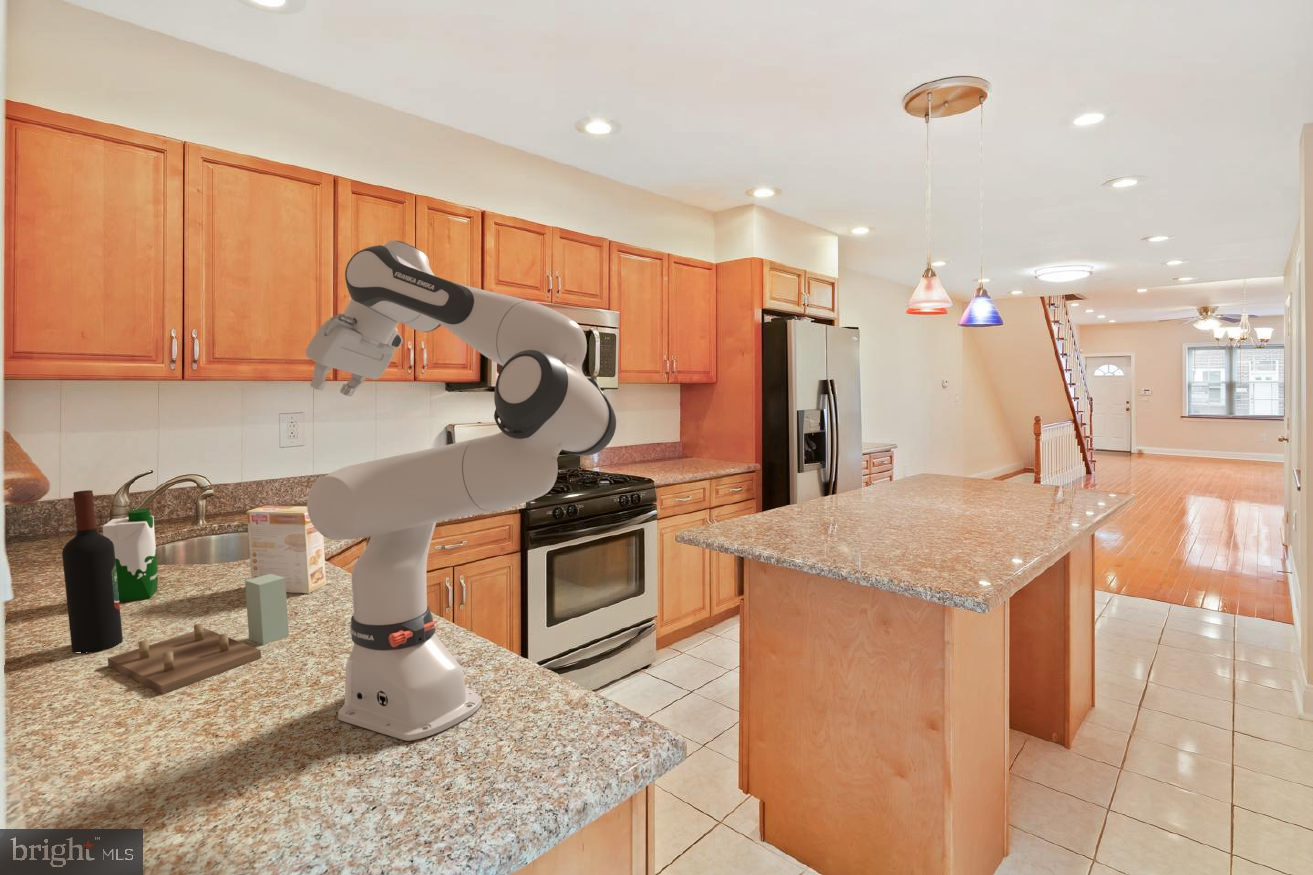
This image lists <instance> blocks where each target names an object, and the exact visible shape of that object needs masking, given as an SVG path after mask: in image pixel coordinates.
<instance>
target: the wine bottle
mask: <svg viewBox="0 0 1313 875" xmlns="http://www.w3.org/2000/svg"><path fill="white" fill-rule="evenodd" d="M72 495H73V496H72V497H73V502H74V513H75V521H76V522H75V523H76V524H75V525H76V534H75V536H73V537H72V538H71V539H70V540H69V541H68V542H66V544H65V545H64V547H63V548H62V551H61V552H62V553H61V555H62V566H63V574H64V575H63V576H64V586H65V596H66V597H65V598H66V605H67V614H68V615H67V616H68V623H69V634H70V646H71V652H73V653H74V652H81V653H85V654H87V653H86V652H93V653H98V652H102V651H106V650H110V649H112V648H115V647H117V646H119V645H120V644H121V643H123V639H124V638H123V629H122V618H121V617H122V616H121V607H120V606H121V604H120V602H119V594H118V583H117V572H116V561H115V551H114V544H113V542H112V541H111V540H110V539H109V538H107V537H105V536H104V535H102V534H101V533H99V532H98V529H97V526H96V515H95V514H96V513H95V505H94V492H93V490H92V489H91V490H90V489H89V490H79V491H74V492H73V493H72ZM119 643H120V644H119ZM118 644H119V645H118ZM116 645H117V646H116ZM114 646H115V647H114Z"/></svg>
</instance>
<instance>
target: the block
mask: <svg viewBox="0 0 1313 875" xmlns="http://www.w3.org/2000/svg"><path fill="white" fill-rule="evenodd" d="M244 586H245V587H244V588H245V597H246V598H245V600H246V601H245V602H246V612H247V613H246V614H247V629H248V640H249V641H251V642H254V643H256V642H257V643H256V644H259V643H260V644H259V645H261V644H262V646H266V645H268V644H267V643H269V642H271V643H273V642H272V641H274V642H276V641H279V639H280V640H282V638H283V639H285V637H286V638H288V637H289V636H290V634H289V620H288V619H289V618H288V616H289V615H288V602H287V600H288V599H287V592H286V583H285V578H284V577H281V576H277V575H274V574H268V575H264V576H260V577H256V578H253V579H251V578H250V579H249V578H248V579H246V580H244ZM287 636H288V637H287ZM265 644H266V645H265ZM269 644H270V643H269Z"/></svg>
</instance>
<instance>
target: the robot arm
mask: <svg viewBox="0 0 1313 875" xmlns="http://www.w3.org/2000/svg"><path fill="white" fill-rule="evenodd" d="M344 272H345V273H344V275H345V276H344V278H345V284H346V289H347V291H348V293H349V296H350V300H349V302H348V304H347V306H346V307H345V309H344V311H343V313H337V315H334V316H331V317H330V318H329V320H326V321H325V322H323V323H322V325H321V326H320V328H319V329H317V332H316V333H315V334H314V335H313V337H312V339H311V340H310V341H309V344H308V345H307V347H306V349H305V356H306V358H308V359H310V360H312V361H313V362H315V365H314V367H313V368H314V369H313V378H312V379H311V381H310V384H309V385H310V387H311V388H313V389H315V390H318V391H324V389H325V387H326V385H327V384H328V382H327V381H326V377H327V374H329V373H330V372H331V370H332V369H335V370H338V371H342V372H345V373H350V374H351V378H350V379H349V380H348V381H347V383H343V384H342V386H341V388H340V393H341V394H342V395H344V396H347V397H352V396H353V395H354V393H355V391H356V390H357V389H358V388H359V387H361V385H362V384H364V382H365V381H366V379H371V380H375V381H377V380H378V379H379V378H380V377H382V376H383V374H384V373H385V371H386V370H387V368H388V366H389V365H390V363H391V361H392V359H393V358H394V356H395V354H396V350H397V349H398V350H399V349H400V348H401V346H402V345H403V342H404V340H403V337H402V336H401V334H400V333H399V330H398V328H397V327H398V326H399V323H401V324H403V325H404V326H406V327H408V328H411V329H412V330H414V331H415V330H416V331H418V332H419V331H420V332H422V333H429V332H432V331H435V330H437V329H439V327H441V326H442V327H443V328H445V329H446V330H447V331H449V332H450V333H452V334H454V335H455V336H456V337H458V338H459V339H460V340H461V341H463V342H465V344H467V345H469V346H470V347H471V348H472V349H474V350H475V351H477V352H478V353H479V354H481V355H482V356H484V357H485V358H488V359H489V360H491V361H492V362H494V363H496V364H498V365H500V366H502V367H501V369H500V371H499V373H498V375H497V378H496V381H495V386H494V396H493V400H494V406H495V411H494V413H493V415H494V416H493V418H494V422H495V423H496V425H497V427H498V428H499V430H500V432H498V433H495V434H492V435H487V436H482V437H476V438H473V439H472V438H471V439H467V440H463V441H459V442H454V443H450V444H445V445H441V446H438V447H436V446H435V447H432V448H428V449H423V450H417V451H413V452H408V453H404V454H398V455H394V456H390V457H384V458H380V459H379V458H378V459H375V460H371V461H365V462H361V463H356V464H351V465H348V466H345V467H342V468H339V469H337V470H334V471H332V472H330V473H328V474H325V475H324V476H322V477H320V478H318V479H317V480H316V481H314V483H313V484H312V485H311V487H310V490H309V492H308V495H307V500H306V507H307V511H308V515H309V518H310V521H311V523H312V524H313V526H314V527H315V529H316V530H317V531H318V532H319V533H320V534H322V535H323V538H326V539H329V540H332V541H346V540H348V541H349V540H356V539H357V540H358V539H366V538H369V541H368V543H367V546H366V547H365V549H364V551H363V552H362V553H361V555H360V556H359V557H358V558H357V560H356V561H355V563H354V565H353V568H352V572H351V586H352V587H351V588H352V607H353V608H352V609H353V610H352V611H353V615H351V617H350V626H349V629H350V634H351V641H352V642H353V646H352V649H351V652H350V655H349V657H348V659H347V661H346V664H345V682H344V684H345V685H344V686H345V687H344V704H343V705H342V706H340V707H341V708H339V710H338V712H337V719H338V721H341V722H344V723H348V724H351V725H354V726H357V727H361V728H363V729H367V730H370V731H374V732H375V733H380V734H383V735H385V736H386V735H387V736H389V737H392V738H395V739H397V740H398V739H399V740H402V741H405V742H407V741H408V742H410V741H415V740H420V739H423V738H427V737H429V736H432V735H436V734H438V733H440V732H443V731H445V730H447V729H449V728H451V727H453V726H455V725H457V724H459V723H461V722H462V721H464V720H466V719H467V718H469V717H470V716H472V715H473V714H475V713H476V712H477V711H479V710H478V709H479V708H481V706H482V703H483V702H482V701H483V700H482V697H481V696H480V695H479V694H478V693H477V692H475V691H473V690H472V689H471V688H469V687H468V686H467V685H466V682H465V680H466V679H465V674H464V670H463V667H462V660H461V657H460V655H459V654H453V655H452V654H451V652H450V651H449V649H448V648H447V647H446V646H445V644H444V643H443V642H442V641H441V640H440V638H439V637H438V635H437V634H436V628H437V627H438V626H439V625H435V624H437V623H438V622H439V621H438V620H434V617H433V614H432V612H431V610H430V606H429V605H428V596H427V595H428V593H427V591H428V588H427V585H428V584H427V582H428V581H427V565H428V556H429V549H430V546H431V542H432V539H433V535H434V531H435V528H436V526H437V523H438V522H443V521H446V520H450V519H452V520H453V519H457V518H462V517H468V516H474V515H479V514H484V513H490V512H496V511H500V510H505V509H509V508H513V507H516V506H520V505H523V504H525V503H528V502H531V501H533V500H536V499H538V498H540V497H543V496H544V495H547V494H548V492H550V491H551V490H552V489H553V487H554V485H555V483H556V482H557V479H558V478H557V477H558V474H559V473H558V472H559V466H558V465H559V464H558V458H559V455H560V452H561V451H562V452H564V453H566V454H568V455H572V456H579V457H587V456H593V455H596V454H597V453H599V452H601V451H603V450H604V449H605V448H606V447H607V446H608V445H609V444H610V443H611V442H612V440H613V438H614V436H615V433H616V428H617V418H616V413H615V411H614V408H613V406H612V404H611V403H610V401H609V399H608V398H607V396H606V395H605V393H604V392H603V391H602V390H601V387H600V386H599V385H598V382H596V380H595V379H594V378H591V377H589V378H587V377H586V376H585V374H584V373H583V372H584V371H583V367H582V366H583V363H584V361H585V359H586V354H587V350H588V349H587V348H588V344H587V337H586V334H585V332H584V330H583V328H582V327H581V326H580V325H579V324H578V323H577V321H574V320H573V319H572V318H570V317H568V316H567V315H565V314H563V313H561V312H559V311H557V310H555V309H553V308H550V307H549V306H546V305H543V304H540V303H538V302H534V301H531V300H527V299H524V298H520V297H517V296H511V295H507V294H503V293H498V292H493V291H488V290H484V289H482V288H481V289H480V288H477V287H473V286H468V285H465V284H461V283H456V282H453V281H450V280H447V279H444V278H442V277H438V276H436V275H435V273H434V272H433V271H432V268H431V267H430V260H429V258H428V255H427V254H425V253H424V252H423V251H422V250H420V249H418V248H417V247H415V246H413V245H411V244H408V243H406V242H404V241H400V240H389V241H387V242H386V243H385V244H384V245H381V244H379V245H372V246H368V247H366V248H363V249H361V250H359V251H357V252H356V253H355V254H354V255H353V256H352V257H351V258H350V259H349V261H348V263H347V265H346V267H345V271H344ZM395 349H396V350H395Z"/></svg>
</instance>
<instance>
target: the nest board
mask: <svg viewBox="0 0 1313 875" xmlns="http://www.w3.org/2000/svg"><path fill="white" fill-rule="evenodd" d="M261 658H262V651H261V649H259V648H256V647H254V646H251V645H249V644H246V643H244V642H241V641H239V640H236V639H233V638H231V637H229V633H228V632H227V633H226V632H225V633H218V632H216V631H213V630H212V629H211V630H210V629H208V628H205V627H204V624H203V623H196V624H194V625H193V631H192V632H191V631H190V632H188V633H184V634H181V635H178V636H174V637H171V638H168V639H164V640H162V641H159V642H156V643H152V644H149V640H148V639H143V640H140V641H139V642H138V648H136V649H132V650H130V651H126V652H123V653H120V654H117V655H113V656H110V657H108V658H107V665H108V667H109V666H110V667H109V668H111V669H113V670H115V671H117V672H119V673H121V674H123V675H125V676H127V677H128V678H130V679H132V680H134V681H135V682H138V683H140V684H142V685H144V686H146V687H147V688H149V689H151V690H153V691H155V692H157V693H159V694H160V695H166V694H168V693H170V692H173V691H175V690H178V689H181V688H184V687H187V686H189V685H193V684H195V683H198V682H199V681H203V680H205V679H208V678H211V677H213V676H216V675H219V674H221V673H224V672H227V671H229V670H232V669H235V668H237V667H240V666H243V665H245V664H248V662H249V663H251V662H255V661H256V660H260V659H261Z"/></svg>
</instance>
